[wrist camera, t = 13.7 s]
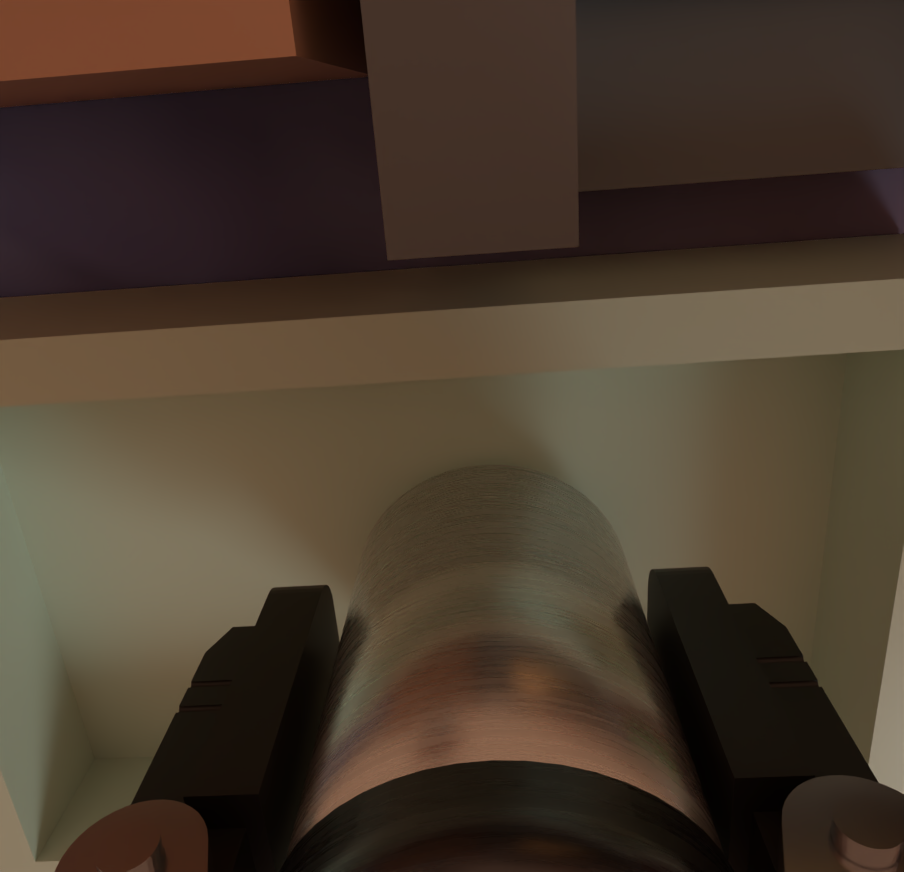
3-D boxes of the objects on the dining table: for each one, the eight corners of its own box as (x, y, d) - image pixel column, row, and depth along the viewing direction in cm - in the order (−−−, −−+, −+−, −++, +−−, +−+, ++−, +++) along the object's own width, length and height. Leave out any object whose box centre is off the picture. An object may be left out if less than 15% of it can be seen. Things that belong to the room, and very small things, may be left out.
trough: (833, 744, 14) (905, 872, 12) (75, 773, 15) (0, 899, 13) (904, 234, 11) (1024, 270, 9) (-82, 303, 12) (-226, 355, 9)
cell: (632, 452, 11) (904, 1058, 4) (629, 690, 13) (823, 1424, 6) (338, 470, 11) (116, 1071, 4) (371, 702, 13) (247, 1422, 6)
